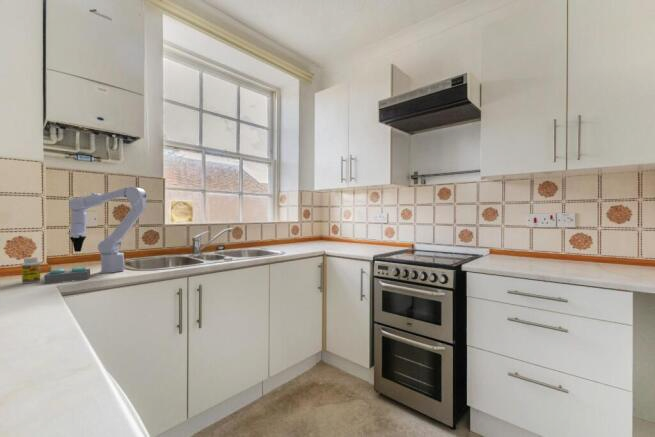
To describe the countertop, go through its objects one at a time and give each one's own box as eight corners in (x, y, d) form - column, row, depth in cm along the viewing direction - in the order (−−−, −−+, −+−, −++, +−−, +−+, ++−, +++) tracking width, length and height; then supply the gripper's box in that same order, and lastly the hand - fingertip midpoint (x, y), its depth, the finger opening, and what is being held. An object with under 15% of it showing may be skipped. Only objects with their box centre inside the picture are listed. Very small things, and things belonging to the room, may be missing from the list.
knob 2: (86, 276, 136) (86, 266, 136) (84, 278, 132) (84, 268, 132) (73, 277, 134) (72, 268, 134) (71, 279, 130) (70, 269, 130)
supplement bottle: (20, 284, 124) (19, 259, 123) (24, 281, 128) (23, 257, 128) (38, 282, 127) (38, 258, 126) (42, 280, 131) (41, 256, 131)
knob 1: (66, 278, 133) (65, 268, 133) (63, 280, 129) (63, 270, 129) (52, 279, 130) (51, 269, 130) (49, 282, 126) (49, 271, 126)
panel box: (90, 276, 138) (90, 268, 138) (87, 279, 132) (87, 271, 132) (49, 280, 131) (49, 272, 131) (44, 283, 124) (44, 275, 124)
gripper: (70, 222, 149) (69, 249, 150) (65, 223, 137) (64, 253, 138) (88, 222, 153) (87, 249, 154) (84, 224, 141) (83, 253, 141)
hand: (77, 251), depth 146 cm, fingers closed
